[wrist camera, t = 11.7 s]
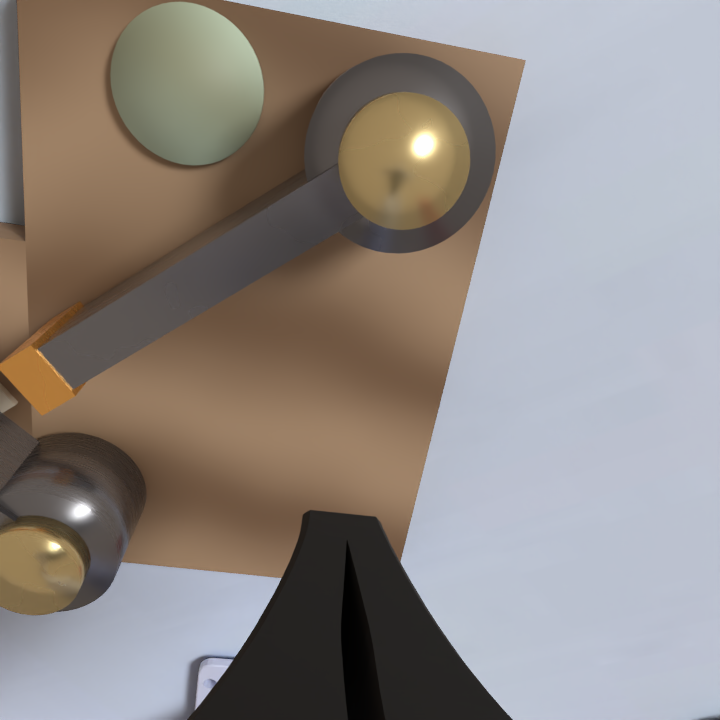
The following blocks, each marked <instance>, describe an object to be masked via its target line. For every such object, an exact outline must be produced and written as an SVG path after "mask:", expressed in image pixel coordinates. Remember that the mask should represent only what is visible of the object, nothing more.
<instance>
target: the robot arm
mask: <svg viewBox="0 0 720 720" xmlns="http://www.w3.org/2000/svg"><path fill="white" fill-rule="evenodd" d="M210 679H213V680H210ZM187 720H512V719H511V718H510V716H509V715H508V714H507V713H506V712H505V711H504V710H503V709H502V708H501V707H500V705H499V704H498V703H497V702H496V701H495V700H494V698H493V697H492V696H491V695H490V694H489V693H488V692H487V690H486V689H485V688H484V687H483V685H482V684H481V683H480V682H479V680H478V679H477V678H476V677H475V675H474V674H473V673H472V672H471V670H470V669H469V668H468V667H467V665H466V664H465V663H464V661H463V660H462V659H461V657H460V656H459V655H458V653H457V652H456V650H455V649H454V648H453V646H452V645H451V643H450V642H449V641H448V639H447V638H446V636H445V635H444V633H443V632H442V630H441V629H440V627H439V626H438V625H437V623H436V622H435V620H434V618H433V617H432V615H431V614H430V612H429V611H428V609H427V608H426V606H425V604H424V603H423V601H422V599H421V598H420V596H419V594H418V593H417V591H416V589H415V588H414V586H413V584H412V583H411V581H410V579H409V577H408V576H407V574H406V572H405V570H404V568H403V567H402V565H401V563H400V561H399V559H398V557H397V555H396V553H395V551H394V550H393V548H392V546H391V544H390V542H389V539H388V537H387V535H386V533H385V531H384V529H383V527H382V524H381V522H380V521H379V520H378V519H377V517H375V516H365V515H356V514H346V513H336V512H326V511H317V510H309V511H307V512H306V513H304V514H303V516H302V523H301V529H300V534H299V538H298V541H297V544H296V546H295V549H294V551H293V554H292V557H291V559H290V561H289V564H288V566H287V568H286V570H285V572H284V574H283V576H282V579H281V581H280V583H279V585H278V587H277V589H276V591H275V593H274V595H273V596H272V598H271V600H270V602H269V603H268V605H267V607H266V609H265V610H264V612H263V614H262V616H261V617H260V619H259V621H258V623H257V624H256V626H255V628H254V629H253V631H252V633H251V634H250V636H249V637H248V639H247V640H246V642H245V643H244V645H243V646H242V648H241V650H240V651H239V652H238V654H237V655H236V657H235V658H234V660H232V659H221V658H208V659H205V660H204V661H202V662H201V664H200V667H199V672H198V681H197V691H196V701H195V711H194V712H193V713H192V715H191V716H190V717H189V718H188V719H187Z"/></svg>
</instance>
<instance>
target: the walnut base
mask: <svg viewBox="0 0 720 720" xmlns="http://www.w3.org/2000/svg"><path fill="white" fill-rule="evenodd" d="M17 18H18V46H19V73H20V101H21V129H22V157H23V185H24V213H25V226H23V225H16V224H10V223H3V222H0V363H1V362H2V361H3V360H5V359H6V358H7V357H8V356H9V355H10V354H11V353H13V352H14V351H15V350H16V349H17V348H18V347H19V346H21V345H22V344H23V343H24V342H25V341H26V340H28V339H29V338H30V337H31V336H32V335H33V334H34V333H36V332H37V331H38V330H39V329H40V328H41V327H43V326H44V325H45V324H46V323H47V322H48V321H49V320H51V319H52V318H54V317H55V316H57V315H59V314H60V313H62V312H63V311H65V310H67V309H68V308H70V307H71V306H73V305H75V304H76V303H78V302H79V301H80V302H81V303H82V304H83V305H86V304H88V303H89V302H91V301H92V300H94V299H96V298H97V297H99V296H100V295H102V294H104V293H105V292H107V291H108V290H110V289H112V288H113V287H115V286H117V285H118V284H120V283H121V282H123V281H125V280H126V279H128V278H129V277H131V276H133V275H134V274H136V273H138V272H139V271H141V270H142V269H144V268H146V267H147V266H149V265H150V264H152V263H154V262H155V261H157V260H158V259H160V258H162V257H163V256H165V255H167V254H168V253H170V252H171V251H173V250H175V249H176V248H178V247H179V246H181V245H183V244H184V243H186V242H188V241H189V240H191V239H192V238H194V237H196V236H197V235H199V234H200V233H202V232H204V231H205V230H207V229H208V228H210V227H212V226H213V225H215V224H217V223H218V222H220V221H221V220H223V219H225V218H226V217H228V216H229V215H231V214H233V213H234V212H236V211H238V210H239V209H241V208H242V207H244V206H246V205H247V204H249V203H250V202H252V201H254V200H255V199H257V198H258V197H260V196H262V195H263V194H265V193H267V192H268V191H270V190H271V189H273V188H275V187H276V186H278V185H279V184H281V183H283V182H284V181H286V180H288V179H289V178H291V177H292V176H294V175H296V174H297V173H299V172H300V171H302V170H304V169H305V163H304V147H305V141H306V134H307V130H308V127H309V123H310V120H311V118H312V115H313V113H314V111H315V108H316V106H317V104H318V102H319V100H320V98H321V97H322V95H323V93H324V92H325V91H326V90H327V88H328V87H329V86H330V84H331V83H332V82H333V81H335V80H336V79H337V78H338V77H339V76H340V75H341V74H343V73H344V72H345V71H347V70H348V69H350V68H352V67H354V66H356V65H357V64H360V63H362V62H364V61H366V60H369V59H372V58H374V57H377V56H382V55H386V54H394V53H412V54H419V55H424V56H428V57H431V58H434V59H436V60H439V61H442V62H443V63H445V64H447V65H449V66H450V67H452V68H454V69H455V70H456V71H458V72H459V73H460V74H462V75H463V76H464V77H465V78H466V79H467V80H468V81H469V82H470V83H471V84H472V85H473V87H474V88H475V89H476V91H477V92H478V93H479V95H480V96H481V98H482V100H483V102H484V104H485V106H486V107H487V110H488V113H489V115H490V118H491V121H492V125H493V129H494V135H495V144H496V156H495V165H494V172H493V176H492V179H491V183H490V186H489V188H488V191H487V193H486V196H485V198H484V199H483V201H482V203H481V205H480V207H479V208H478V209H477V211H476V212H475V214H474V215H473V216H472V218H471V219H470V220H469V221H468V222H467V223H466V224H465V225H464V226H463V227H462V228H461V229H460V230H459V231H457V232H456V233H455V234H454V235H452V236H451V237H449V238H448V239H446V240H445V241H443V242H441V243H439V244H437V245H435V246H433V247H430V248H427V249H424V250H421V251H416V252H411V253H400V254H396V253H384V252H378V251H374V250H371V249H367V248H364V247H362V246H360V245H358V244H356V243H354V242H352V241H350V240H349V239H347V238H346V237H344V236H343V235H341V234H340V233H339V232H337V233H336V234H334V235H332V236H331V237H329V238H327V239H326V240H324V241H322V242H320V243H319V244H317V245H315V246H314V247H312V248H310V249H309V250H307V251H305V252H304V253H302V254H300V255H299V256H297V257H295V258H294V259H292V260H290V261H289V262H287V263H285V264H283V265H282V266H280V267H278V268H277V269H275V270H273V271H272V272H270V273H268V274H267V275H265V276H263V277H262V278H260V279H258V280H257V281H255V282H253V283H252V284H250V285H248V286H246V287H245V288H243V289H241V290H240V291H238V292H236V293H235V294H233V295H231V296H230V297H228V298H226V299H225V300H223V301H221V302H220V303H218V304H216V305H215V306H213V307H211V308H209V309H208V310H206V311H204V312H203V313H201V314H199V315H198V316H196V317H194V318H193V319H191V320H189V321H188V322H186V323H184V324H183V325H181V326H179V327H177V328H176V329H174V330H172V331H171V332H169V333H167V334H166V335H164V336H162V337H161V338H159V339H157V340H156V341H154V342H152V343H151V344H149V345H147V346H146V347H144V348H142V349H140V350H139V351H137V352H135V353H134V354H132V355H130V356H129V357H127V358H125V359H124V360H122V361H120V362H119V363H117V364H115V365H114V366H112V367H110V368H109V369H107V370H105V371H103V372H102V373H100V374H98V375H97V376H95V377H93V378H92V379H90V380H88V381H87V382H86V384H85V385H84V386H83V387H82V389H81V390H80V391H79V392H78V394H77V395H76V396H75V397H73V398H71V399H70V400H68V401H66V402H65V403H63V404H61V405H60V406H58V407H56V408H55V409H53V410H51V411H49V412H48V413H46V414H44V415H43V416H42V415H41V414H40V413H39V412H38V411H37V410H36V409H35V408H34V407H33V406H32V404H31V403H30V402H29V401H28V400H27V399H26V398H25V397H24V396H23V395H22V394H21V392H20V391H19V390H18V389H17V388H16V387H15V386H14V385H13V384H12V383H11V382H10V380H9V379H8V378H7V377H6V376H5V375H4V374H3V373H2V372H1V371H0V412H1V413H3V414H4V415H5V416H7V417H8V418H9V419H11V420H12V421H13V422H14V423H16V424H17V425H18V426H20V427H21V428H22V429H24V430H25V431H26V432H27V433H29V434H30V435H31V436H33V437H34V438H35V439H36V440H39V439H41V438H44V437H46V436H50V435H53V434H59V433H83V434H88V435H92V436H95V437H99V438H101V439H104V440H106V441H108V442H110V443H112V444H114V445H115V446H117V447H118V448H120V449H121V450H123V451H124V452H125V453H126V454H127V455H128V456H129V457H130V458H131V459H132V460H133V461H134V462H135V463H136V465H137V466H138V468H139V469H140V471H141V473H142V475H143V478H144V481H145V485H146V503H145V507H144V510H143V512H142V515H141V517H140V519H139V522H138V524H137V526H136V529H135V531H134V533H133V536H132V538H131V540H130V543H129V545H128V547H127V550H126V552H125V554H124V557H123V559H122V561H121V562H128V563H138V564H148V565H158V566H168V567H178V568H188V569H198V570H208V571H218V572H228V573H238V574H248V575H258V576H268V577H278V578H282V576H283V574H284V572H285V570H286V568H287V566H288V564H289V561H290V559H291V557H292V554H293V551H294V549H295V546H296V544H297V541H298V538H299V534H300V529H301V523H302V516H303V514H304V513H306V512H307V511H309V510H317V511H326V512H336V513H346V514H356V515H365V516H375V517H377V519H378V520H379V521H380V522H381V524H382V527H383V529H384V531H385V533H386V535H387V537H388V539H389V542H390V544H391V546H392V548H393V550H394V551H395V553H396V555H397V557H398V559H399V561H401V557H402V553H403V549H404V545H405V541H406V537H407V533H408V529H409V525H410V521H411V517H412V513H413V509H414V505H415V501H416V497H417V493H418V489H419V485H420V481H421V477H422V473H423V469H424V465H425V461H426V457H427V453H428V449H429V445H430V441H431V437H432V433H433V429H434V425H435V421H436V417H437V413H438V409H439V405H440V401H441V397H442V393H443V389H444V385H445V381H446V377H447V373H448V369H449V365H450V361H451V357H452V353H453V349H454V345H455V341H456V337H457V333H458V329H459V325H460V321H461V317H462V313H463V309H464V305H465V301H466V297H467V293H468V289H469V285H470V281H471V277H472V273H473V269H474V265H475V261H476V257H477V253H478V249H479V245H480V241H481V237H482V233H483V229H484V225H485V221H486V217H487V213H488V209H489V205H490V201H491V197H492V193H493V189H494V185H495V181H496V177H497V173H498V169H499V165H500V161H501V157H502V153H503V149H504V145H505V141H506V137H507V133H508V129H509V125H510V121H511V117H512V113H513V109H514V105H515V101H516V97H517V93H518V89H519V85H520V81H521V77H522V73H523V69H524V65H525V61H526V60H522V59H517V58H511V57H506V56H501V55H496V54H491V53H486V52H481V51H476V50H471V49H466V48H461V47H456V46H451V45H446V44H441V43H436V42H431V41H426V40H421V39H416V38H411V37H406V36H401V35H396V34H391V33H386V32H381V31H375V30H370V29H365V28H360V27H355V26H350V25H345V24H340V23H335V22H330V21H325V20H320V19H315V18H310V17H305V16H300V15H295V14H290V13H285V12H280V11H275V10H270V9H265V8H260V7H255V6H250V5H245V4H240V3H234V2H229V1H224V0H17Z"/></svg>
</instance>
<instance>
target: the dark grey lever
mask: <svg viewBox="0 0 720 720" xmlns="http://www.w3.org/2000/svg"><path fill="white" fill-rule="evenodd" d="M495 156H496V144H495V135H494V129H493V125H492V121H491V118H490V115H489V113H488V110H487V107H486V106H485V104H484V102H483V100H482V98H481V96H480V95H479V93H478V92H477V91H476V89H475V88H474V87H473V85H472V84H471V83H470V82H469V81H468V80H467V79H466V78H465V77H464V76H463V75H462V74H460V73H459V72H458V71H456V70H455V69H454V68H452V67H450V66H449V65H447V64H445V63H443V62H442V61H439V60H436V59H434V58H431V57H428V56H424V55H419V54H412V53H394V54H386V55H382V56H377V57H374V58H372V59H369V60H366V61H364V62H362V63H360V64H357V65H356V66H354V67H352V68H350V69H348V70H347V71H345V72H344V73H343V74H341V75H340V76H339V77H338V78H337V79H336V80H335V81H333V82H332V83H331V84H330V86H329V87H328V88H327V90H326V91H325V92H324V93H323V95H322V97H321V98H320V100H319V102H318V104H317V106H316V108H315V111H314V113H313V115H312V118H311V120H310V123H309V127H308V130H307V134H306V141H305V147H304V163H305V169H304V170H302V171H300V172H299V173H297V174H296V175H294V176H292V177H291V178H289V179H288V180H286V181H284V182H283V183H281V184H279V185H278V186H276V187H275V188H273V189H271V190H270V191H268V192H267V193H265V194H263V195H262V196H260V197H258V198H257V199H255V200H254V201H252V202H250V203H249V204H247V205H246V206H244V207H242V208H241V209H239V210H238V211H236V212H234V213H233V214H231V215H229V216H228V217H226V218H225V219H223V220H221V221H220V222H218V223H217V224H215V225H213V226H212V227H210V228H208V229H207V230H205V231H204V232H202V233H200V234H199V235H197V236H196V237H194V238H192V239H191V240H189V241H188V242H186V243H184V244H183V245H181V246H179V247H178V248H176V249H175V250H173V251H171V252H170V253H168V254H167V255H165V256H163V257H162V258H160V259H158V260H157V261H155V262H154V263H152V264H150V265H149V266H147V267H146V268H144V269H142V270H141V271H139V272H138V273H136V274H134V275H133V276H131V277H129V278H128V279H126V280H125V281H123V282H121V283H120V284H118V285H117V286H115V287H113V288H112V289H110V290H108V291H107V292H105V293H104V294H102V295H100V296H99V297H97V298H96V299H94V300H92V301H91V302H89V303H88V304H86V305H83V304H82V303H81V302H80V301H79V302H78V303H76V304H75V305H73V306H71V307H70V308H68V309H67V310H65V311H63V312H62V313H60V314H59V315H57V316H55V317H54V318H52V319H51V320H49V321H48V322H47V323H46V324H45V325H44V326H43V327H41V328H40V329H39V330H38V331H37V332H36V333H34V334H33V335H32V336H31V337H30V338H29V339H28V340H26V341H25V342H24V343H23V344H22V345H21V346H19V347H18V348H17V349H16V350H15V351H14V352H13V353H11V354H10V355H9V356H8V357H7V358H6V359H5V360H3V361H2V362H1V363H0V371H1V372H2V373H3V374H4V375H5V376H6V377H7V378H8V379H9V380H10V382H11V383H12V384H13V385H14V386H15V387H16V388H17V389H18V390H19V391H20V392H21V394H22V395H23V396H24V397H25V398H26V399H27V400H28V401H29V402H30V403H31V404H32V406H33V407H34V408H35V409H36V410H37V411H38V412H39V413H40V414H41V415H42V416H43V415H44V414H46V413H48V412H49V411H51V410H53V409H55V408H56V407H58V406H60V405H61V404H63V403H65V402H66V401H68V400H70V399H71V398H73V397H75V396H76V395H77V394H78V392H79V391H80V390H81V389H82V387H83V386H84V385H85V384H86V382H87V381H88V380H90V379H92V378H93V377H95V376H97V375H98V374H100V373H102V372H103V371H105V370H107V369H109V368H110V367H112V366H114V365H115V364H117V363H119V362H120V361H122V360H124V359H125V358H127V357H129V356H130V355H132V354H134V353H135V352H137V351H139V350H140V349H142V348H144V347H146V346H147V345H149V344H151V343H152V342H154V341H156V340H157V339H159V338H161V337H162V336H164V335H166V334H167V333H169V332H171V331H172V330H174V329H176V328H177V327H179V326H181V325H183V324H184V323H186V322H188V321H189V320H191V319H193V318H194V317H196V316H198V315H199V314H201V313H203V312H204V311H206V310H208V309H209V308H211V307H213V306H215V305H216V304H218V303H220V302H221V301H223V300H225V299H226V298H228V297H230V296H231V295H233V294H235V293H236V292H238V291H240V290H241V289H243V288H245V287H246V286H248V285H250V284H252V283H253V282H255V281H257V280H258V279H260V278H262V277H263V276H265V275H267V274H268V273H270V272H272V271H273V270H275V269H277V268H278V267H280V266H282V265H283V264H285V263H287V262H289V261H290V260H292V259H294V258H295V257H297V256H299V255H300V254H302V253H304V252H305V251H307V250H309V249H310V248H312V247H314V246H315V245H317V244H319V243H320V242H322V241H324V240H326V239H327V238H329V237H331V236H332V235H334V234H336V233H337V232H339V233H340V234H341V235H343V236H344V237H346V238H347V239H349V240H350V241H352V242H354V243H356V244H358V245H360V246H362V247H364V248H367V249H371V250H374V251H378V252H384V253H396V254H400V253H411V252H416V251H421V250H424V249H427V248H430V247H433V246H435V245H437V244H439V243H441V242H443V241H445V240H446V239H448V238H449V237H451V236H452V235H454V234H455V233H456V232H457V231H459V230H460V229H461V228H462V227H463V226H464V225H465V224H466V223H467V222H468V221H469V220H470V219H471V218H472V216H473V215H474V214H475V212H476V211H477V209H478V208H479V207H480V205H481V203H482V201H483V199H484V198H485V196H486V193H487V191H488V188H489V186H490V183H491V179H492V176H493V172H494V165H495Z"/></svg>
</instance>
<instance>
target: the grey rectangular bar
mask: <svg viewBox="0 0 720 720" xmlns="http://www.w3.org/2000/svg"><path fill="white" fill-rule="evenodd" d="M145 503H146V485H145V481H144V478H143V475H142V473H141V471H140V469H139V468H138V466H137V465H136V463H135V462H134V461H133V460H132V459H131V458H130V457H129V456H128V455H127V454H126V453H125V452H124V451H123V450H121V449H120V448H118V447H117V446H115V445H114V444H112V443H110V442H108V441H106V440H104V439H101V438H99V437H95V436H92V435H88V434H83V433H59V434H53V435H50V436H46V437H44V438H41V439H39V440H36V439H35V438H34V437H33V436H31V435H30V434H29V433H27V432H26V431H25V430H24V429H22V428H21V427H20V426H18V425H17V424H16V423H14V422H13V421H12V420H11V419H9V418H8V417H7V416H5V415H4V414H3V413H1V412H0V606H1V607H3V608H5V609H7V610H10V611H13V612H16V613H20V614H26V615H45V614H50V613H54V612H61V611H68V610H73V609H77V608H80V607H83V606H85V605H87V604H89V603H91V602H93V601H95V600H96V599H98V598H99V597H100V596H101V595H102V594H104V593H105V592H106V590H107V589H108V588H109V587H110V585H111V583H112V582H113V580H114V578H115V575H116V573H117V571H118V568H119V566H120V564H121V561H122V559H123V557H124V554H125V552H126V550H127V547H128V545H129V543H130V540H131V538H132V536H133V533H134V531H135V529H136V526H137V524H138V522H139V519H140V517H141V515H142V512H143V510H144V507H145Z"/></svg>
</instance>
